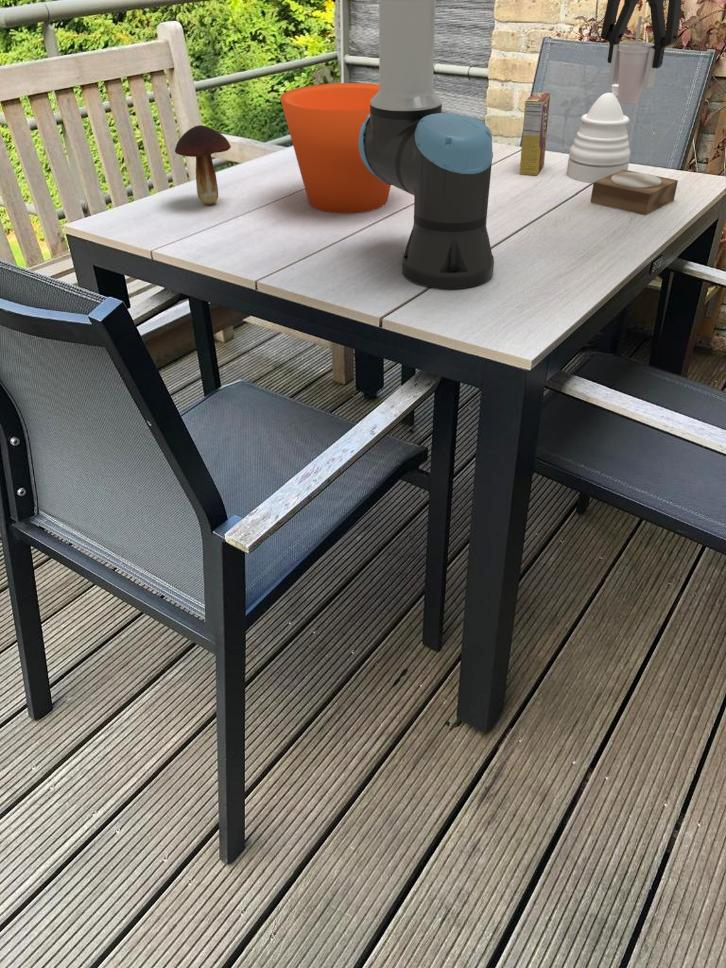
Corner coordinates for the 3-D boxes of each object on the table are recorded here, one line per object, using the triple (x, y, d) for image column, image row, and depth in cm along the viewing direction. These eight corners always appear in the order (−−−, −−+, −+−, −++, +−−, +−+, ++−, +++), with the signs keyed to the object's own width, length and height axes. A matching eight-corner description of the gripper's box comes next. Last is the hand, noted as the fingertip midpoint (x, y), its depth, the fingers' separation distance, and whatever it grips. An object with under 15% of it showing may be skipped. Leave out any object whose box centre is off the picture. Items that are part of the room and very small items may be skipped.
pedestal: (645, 215, 159) (649, 192, 157) (590, 202, 166) (593, 180, 163) (673, 200, 166) (678, 178, 164) (619, 189, 173) (623, 167, 170)
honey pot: (608, 165, 188) (622, 78, 177) (637, 180, 178) (654, 89, 167) (556, 169, 185) (567, 82, 175) (583, 185, 175) (596, 93, 165)
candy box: (525, 164, 189) (532, 91, 180) (544, 165, 188) (552, 92, 179) (517, 174, 182) (524, 100, 173) (537, 176, 181) (545, 101, 172)
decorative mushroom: (188, 215, 162) (177, 134, 153) (177, 199, 170) (166, 122, 162) (242, 208, 165) (234, 128, 157) (228, 193, 174) (220, 116, 165)
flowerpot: (267, 214, 162) (259, 106, 150) (311, 179, 181) (307, 80, 170) (390, 225, 156) (391, 113, 144) (421, 187, 175) (425, 86, 164)
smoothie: (642, 98, 157) (656, 14, 149) (648, 105, 152) (663, 19, 144) (608, 98, 158) (619, 14, 149) (613, 105, 153) (625, 19, 144)
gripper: (718, -65, 136) (689, 87, 150) (613, -67, 147) (594, 75, 161) (699, -62, 132) (670, 95, 146) (591, -64, 143) (574, 82, 156)
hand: (630, 84), depth 153 cm, fingers closed on smoothie, 6 cm apart
